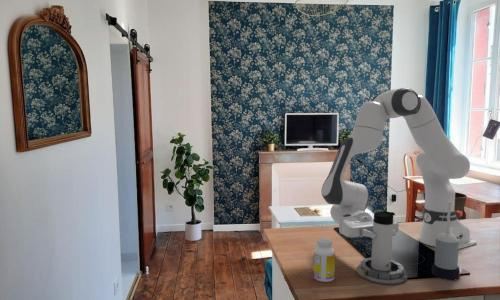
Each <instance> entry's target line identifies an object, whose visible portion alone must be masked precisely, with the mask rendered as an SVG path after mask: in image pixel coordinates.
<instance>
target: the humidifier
mask: <svg viewBox="0 0 500 300" xmlns="http://www.w3.org/2000/svg"><path fill="white" fill-rule="evenodd" d="M443 212H444V209H443ZM450 213H451V202H450V201H449V206H448V214H447V228H446V231H445V232H442V233H440V234H439V235H438V236H437V237H436V244H435V248H434V249H435V251H434V262H433V263H432V266H431V274H432V275H433V277H436V278H438V279H442V280H445V279H446V280H445V281H456V280H455V279H457V280H459V279H460V278H461V276H462V275H461V273H460V268H459V266H458V264H459V263H458V260H459V249H458V246H459V242H458V239H457V237H456V236H455V235H454V234H452V233H451V232H450V230H449V229H450V223H451V222H450ZM443 216H444V215H443ZM442 221H443V217H442ZM442 230H443V226H442ZM458 278H459V279H458Z"/></svg>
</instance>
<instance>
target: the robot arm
mask: <svg viewBox="0 0 500 300" xmlns="http://www.w3.org/2000/svg"><path fill="white" fill-rule="evenodd" d="M399 117H403V118H404V120H405V122H406V125H407V127H408V129H409V131H410V133H411V136H412V138H413V140H414V141H415V144H416V145H417V146H418V147H419V148H421V151H420V152H419V153H418V154H417V156H416V161H415V163H416V166H417V167H418V168H419V170H420V172H421V176H422V182H423V185H424V207H423V209H422V216H423V218H422V219H423V220H422V224H421V230H420V233H419V237H418V240H419V241H420V243H422V244H424V245H427V246H431V247H435V244H436V237H437V236H438V235H439V234H440V233H442V232H445V231H446V228H447V214H448V206H449V201H450V202H451V213H450V222H451V223H450V229H449V230H450V232H451V233H452V234H454V235H455V236H456V237H457V239H458V242H459V246H458V250H461V249H464V248H467V247H470V246H474V245H477V241H476V240H475V239H473V238H471V233H470V229H469V227H468V226H467V225H465V224H464V223H463V222H462V221H461V220H460V221H459V220H458V218H457V215H458V216H461V217H462V216H463V213H464V212H463V213H462V212H461V211H455V210H454V206H455V192H456V191H455V189H454V188H453V186H452V184H451V181H450V180H451V179H453V180H457V179H463V178H465V176H467V174H468V173H469V172H470V167H471V162H470V160H469V159H468V157H467V156H465V155H464V154H463V153H461V152H460V150H458V148H457V147H456V146H455V145H454V143H453V142H452V141H451V140H450V138H449V137H448V136H447V134H446V132H445V131H444V129H443V127H442V125H441V122H440V121H439V119H438V116H437V114H436V112H435V110H434V109H433V107H432V104H430V102H429V101H428V99H427V98H426V97H425V96H423V95H419V94H418V93H417V92H416V91H415V90H414V89H412V88H409V87H400V88H394V89H389V90H387V91H385V92H380V93H378V94H376V95H375V96H374V97H373V98H372V99H371V100H370V101H365V102H363V104H361V106H360V108H359V111H358V113H357V116H356V119H355V123H354V125H353V129H352V132H351V134H350V135H349V136H348V137H346V138H345V139H344V140H343V141H341V144H340V146H339V149H338V150H337V153H336V155H335V157H334V161H333V162H332V166H331V168H330V171H329V172H328V175H327V177H326V179H325V180H324V182H323V184H322V186H321V196H322V197H323V199H324V201H325V202H326V203H327V204H329V205H332V206H331V208H330V216H331V219H332V220H333V221H334V222H335V223H336V224H338V230H339V234H341V235H343V236H344V237H346V238H352V239H353V238H362V237H368V238H371V239H372V238H376V232H374V231H373V221H374V218H373V217H372V215H371V214H370V213H368V212H366V210H367V208H368V206H369V202H370V193H369V190H368V187H367V186H366V185H365V184H362V183H360V182H359V183H358V182H356V181H355V182H354V181H350V180H349V181H348V180H346V179H344V175H345V173H346V171H347V169H348V168H347V167H348V166H349V163H350V161H351V159H352V158H353V157H354V156H356V155H359V154H365V153H369V152H372V151H374V150H376V149H377V148H378V147H379V146H380V144H381V142H382V139H383V134H384V130H385V124H386V121H387V120H388V119H396V118H397V119H398V118H399ZM443 209H444V212H443ZM443 215H444V216H443ZM442 217H443V221H442ZM399 225H400V224H399V222H398V221H396V220H393V237H394V236H395V237H396V235H397V233H398V232H399V227H400V226H399ZM442 226H443V230H442Z"/></svg>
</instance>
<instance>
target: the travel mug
mask: <svg viewBox="0 0 500 300" xmlns="http://www.w3.org/2000/svg"><path fill="white" fill-rule="evenodd" d="M394 216H396V214H395V212H394V211H377V212H374V214H373V219H374V221H373V231H374V232H376V238H371V255H370V258H371V269H372V270H376V271H379V272H390V270H391V260H392V253H393V252H392V251H393V249H392V248H393V237H394V236H393V221H394Z"/></svg>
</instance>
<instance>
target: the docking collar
mask: <svg viewBox="0 0 500 300" xmlns="http://www.w3.org/2000/svg"><path fill="white" fill-rule="evenodd" d="M359 263H360V264H358V265H357V266H356V274H357V275H358V276H359V277H360V278H361V279H364V280H365V281H368V282H369V283H374V284H376V285H377V284H379V285H385V286H393V285H394V286H395V285H400V284H404V283H405V282H407V280H408V273H407V271H406V270H405V268H404V265H402V263H399V262H398V261H395V260H393V259H391V270H390V272H379V271H376V270H372V269H371V257H368V258H367V257H366V258H364V259H362V260H361V261H360V262H359Z"/></svg>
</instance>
